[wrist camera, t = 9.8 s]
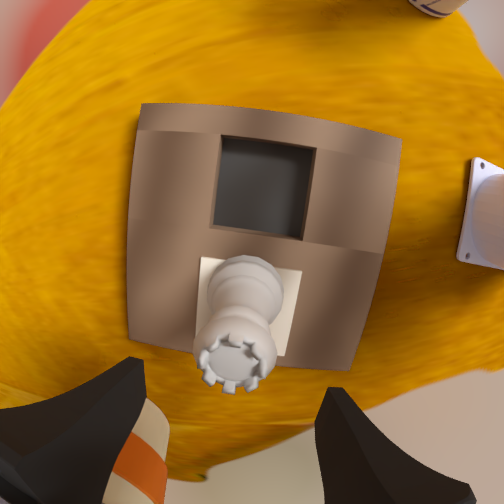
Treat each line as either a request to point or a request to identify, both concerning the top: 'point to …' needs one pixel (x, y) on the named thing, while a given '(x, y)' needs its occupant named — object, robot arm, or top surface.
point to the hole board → (258, 222)
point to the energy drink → (438, 6)
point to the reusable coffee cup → (141, 462)
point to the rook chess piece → (239, 324)
